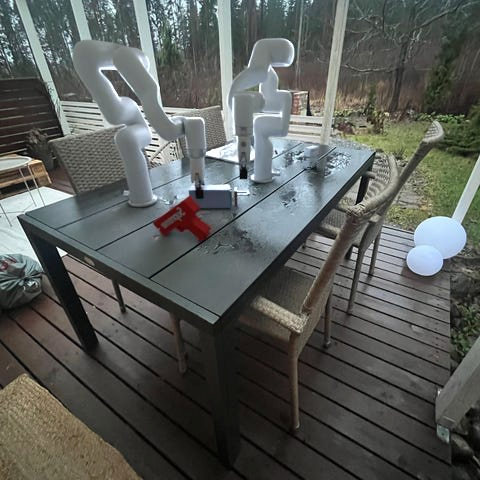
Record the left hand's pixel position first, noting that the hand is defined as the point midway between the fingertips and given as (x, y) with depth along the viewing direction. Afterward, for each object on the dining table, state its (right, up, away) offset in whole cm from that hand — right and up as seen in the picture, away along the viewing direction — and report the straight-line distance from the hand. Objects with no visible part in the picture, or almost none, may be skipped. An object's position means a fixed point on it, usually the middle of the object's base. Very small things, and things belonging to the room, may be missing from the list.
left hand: (200, 195), depth 115 cm
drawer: (+10, -4, +3) cm, 11 cm away
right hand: (+18, +7, -4) cm, 20 cm away
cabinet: (+4, -5, +3) cm, 7 cm away
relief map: (+13, +39, +71) cm, 82 cm away
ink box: (+58, +25, +48) cm, 80 cm away
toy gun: (-4, -18, -17) cm, 25 cm away
